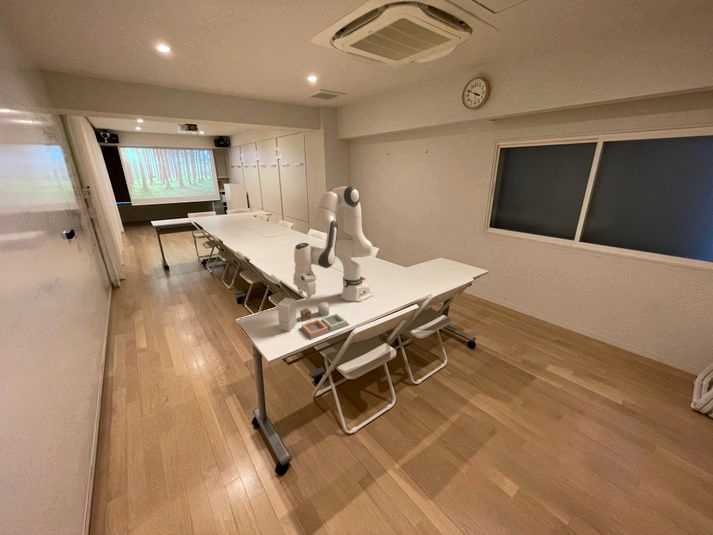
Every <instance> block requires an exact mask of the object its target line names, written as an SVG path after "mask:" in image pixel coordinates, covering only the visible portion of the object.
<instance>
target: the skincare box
mask: <svg viewBox="0 0 713 535" xmlns="http://www.w3.org/2000/svg"><path fill="white" fill-rule="evenodd" d="M296 306H297V305H296V298H290V297H284V298H283V299H282V300H281V301H279V302H278V303H277V314H278V315H277V317H278V326H279V328H278V329H279V330H280V331H285V332H291V331H292V330H293V329H294V328H295V326H297V323H298V322H297V307H296Z"/></svg>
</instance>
